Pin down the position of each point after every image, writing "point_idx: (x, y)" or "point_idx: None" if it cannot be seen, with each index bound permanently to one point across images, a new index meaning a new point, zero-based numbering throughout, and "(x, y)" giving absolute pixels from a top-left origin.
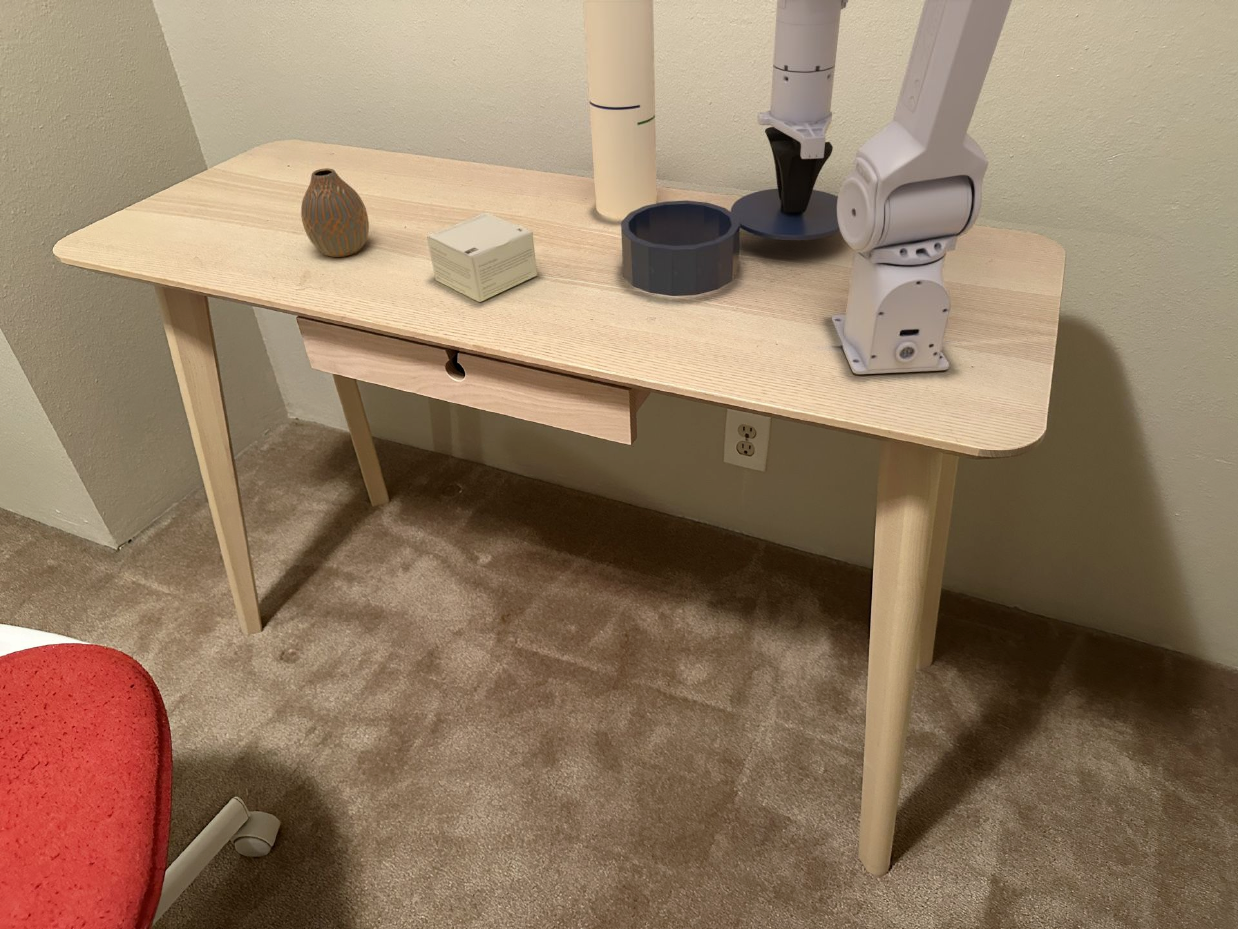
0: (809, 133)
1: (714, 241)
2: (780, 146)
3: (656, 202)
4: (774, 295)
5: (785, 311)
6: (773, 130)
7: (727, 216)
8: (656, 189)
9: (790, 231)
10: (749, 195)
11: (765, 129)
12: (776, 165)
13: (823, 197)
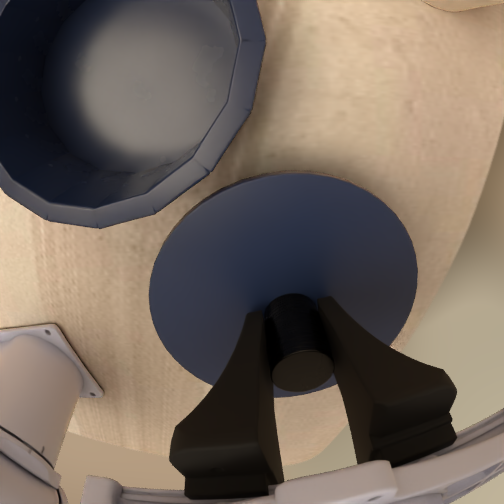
0: None
1: (8, 184)
2: (196, 459)
3: (450, 6)
4: (91, 254)
5: (55, 271)
6: (418, 410)
7: (153, 186)
8: (469, 3)
9: (171, 316)
10: (387, 217)
11: (441, 388)
12: (345, 349)
13: None
